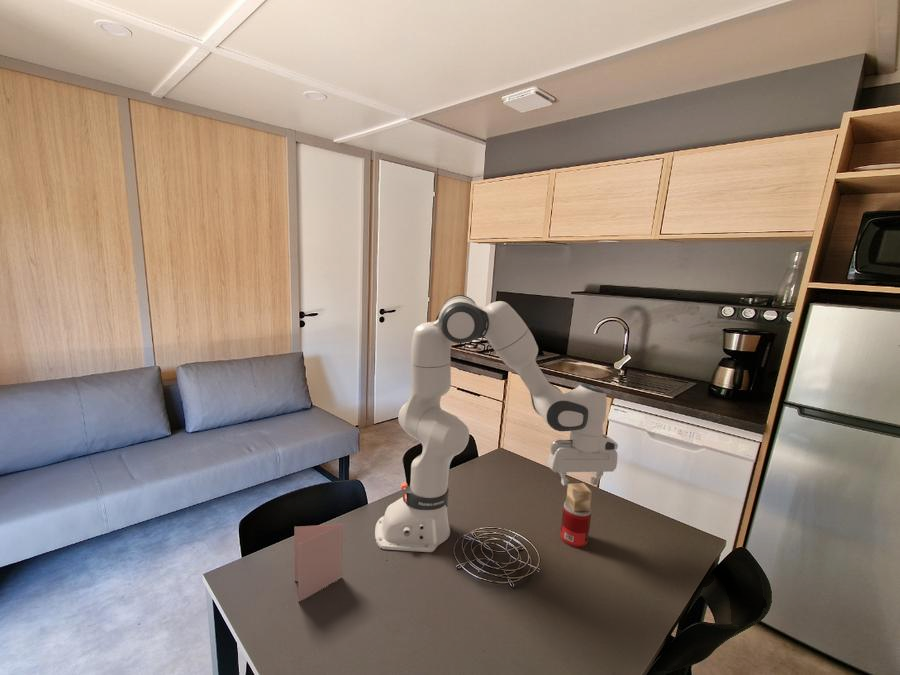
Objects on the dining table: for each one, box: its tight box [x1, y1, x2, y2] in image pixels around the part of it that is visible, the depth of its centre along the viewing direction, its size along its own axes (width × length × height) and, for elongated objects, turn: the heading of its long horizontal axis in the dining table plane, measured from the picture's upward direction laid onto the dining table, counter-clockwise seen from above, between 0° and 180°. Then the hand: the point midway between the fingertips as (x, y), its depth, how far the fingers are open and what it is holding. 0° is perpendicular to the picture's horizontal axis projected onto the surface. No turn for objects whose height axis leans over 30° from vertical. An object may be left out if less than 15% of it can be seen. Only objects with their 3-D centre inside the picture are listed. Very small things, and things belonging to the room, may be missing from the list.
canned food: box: [560, 500, 593, 548], centre depth 119 cm, size 8×8×11 cm
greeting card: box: [293, 523, 344, 603], centre depth 95 cm, size 11×7×15 cm, turn 100°
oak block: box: [565, 482, 593, 512], centre depth 118 cm, size 5×5×6 cm
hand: (579, 484), depth 117 cm, fingers open, 8 cm apart
